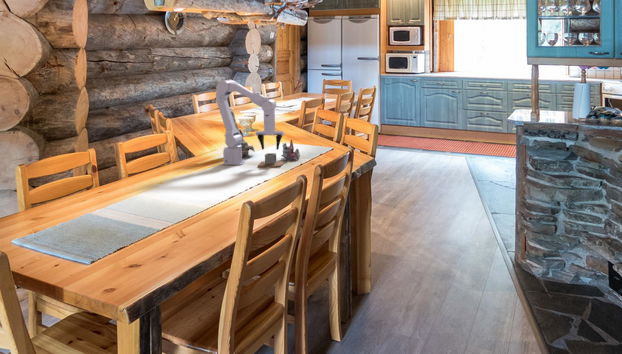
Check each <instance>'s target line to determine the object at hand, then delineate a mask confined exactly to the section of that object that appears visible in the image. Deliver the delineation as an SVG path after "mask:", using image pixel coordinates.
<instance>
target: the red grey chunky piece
mask: <svg viewBox="0 0 622 354" xmlns="http://www.w3.org/2000/svg"><path fill="white" fill-rule="evenodd" d="M280 156H281V157H282V158H283V159H284V160H286V161H288V160H290V161H297V160H296V159H298V160H299V159H300V157H301V153H300V150H299V149H298V148H296V149H295V147H294V143H293V140H292V139H290V142H289V145H288V146H287V143H286V142H284V143H282V154H281V155H280Z"/></svg>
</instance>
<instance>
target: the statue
mask: <svg viewBox="0 0 622 354" xmlns="http://www.w3.org/2000/svg"><path fill="white" fill-rule="evenodd" d="M230 111H231V114H232V117H233V120H234V123H235V126H236V128H237V129H238V130H239V132H240V134H241V135H242V137H243V138H244V135H243V131H242V129H241V128H239V126H238V123H237V121H236V117H235V113H234V111H233V109H232V108H230ZM241 146H242V157H244V156H249V152H250V151H251V152H254V153H256V152H255V148H254V146H253V145H249V144H248V142H246V141H245V139H243V142H242V144H241Z"/></svg>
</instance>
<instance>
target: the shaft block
mask: <svg viewBox="0 0 622 354" xmlns="http://www.w3.org/2000/svg"><path fill="white" fill-rule="evenodd" d="M284 165H285V162H284V161H276V164H275V165H265V161H261V162H260V163H259V164H257V168H266V167H281V166H282V167H283V166H284ZM282 167H281V168H282Z"/></svg>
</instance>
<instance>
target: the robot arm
mask: <svg viewBox="0 0 622 354" xmlns="http://www.w3.org/2000/svg"><path fill="white" fill-rule="evenodd" d="M215 88H216V93H215V100H216V104H217V106H218V109H219V113H220V116H221V119H222V122H223V125H224V128H225V133H224V137H225V140H224V141H225V145H226V146H227V147H226V146H225V147H224V148H223V165H224V166H227V165H228V166H240V165H243V164H244V163H245V161H244V160H243V156H242V146H241V144H242V142H243V140H244V136H243V137H242V135H241V134H240V132H239V130H238V129H239V128H238V129H237V128H236V126H235V123H234V120H233V117H232V114H231V111H230V105H229V102H228V98H229V96H230V94H232V93H233V92H236V93H239V94H241V95H243V96H245V97H247V98H249V100H250V102H251V103H252V104H255V105H256V106H257V107H259V108H261V109H262V110H263V111H262V112H263V130H260V131H258V130H256V131H255V137H256V136H257V139H258V142H259V143H260V146H261V150H264V149H265V142H264V141H265V136H275V139H276V150H279V147H280V143H281V141H282V137H284V136H285V131H284V130H283V131H280V130H276V113H275V112H276V108H277V102H276V101H275V100H274V99H273V98H269V97H268V96H265V95H263V94H262V93H261V92H260V91H254V92H253V91H251V90H250V89H248V88H246V86H244V85H241V84H240V83H239V82H237V81H234V80H233V79H225V80H220V81H219V82H218V83H217V84H216V86H215Z"/></svg>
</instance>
